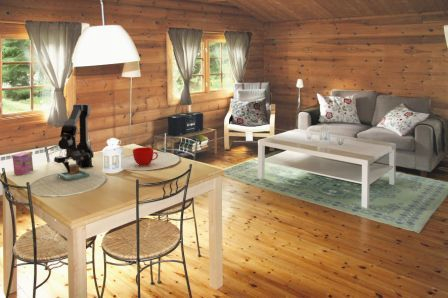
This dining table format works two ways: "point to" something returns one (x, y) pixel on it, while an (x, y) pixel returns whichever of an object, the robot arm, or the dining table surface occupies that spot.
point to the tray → (72, 177)
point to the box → (22, 163)
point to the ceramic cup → (143, 155)
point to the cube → (73, 169)
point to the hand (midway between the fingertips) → (73, 171)
